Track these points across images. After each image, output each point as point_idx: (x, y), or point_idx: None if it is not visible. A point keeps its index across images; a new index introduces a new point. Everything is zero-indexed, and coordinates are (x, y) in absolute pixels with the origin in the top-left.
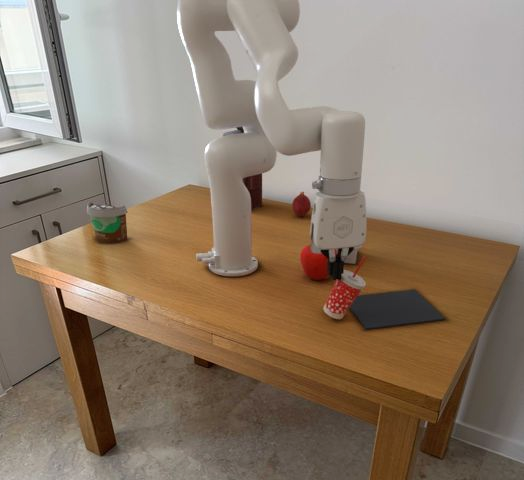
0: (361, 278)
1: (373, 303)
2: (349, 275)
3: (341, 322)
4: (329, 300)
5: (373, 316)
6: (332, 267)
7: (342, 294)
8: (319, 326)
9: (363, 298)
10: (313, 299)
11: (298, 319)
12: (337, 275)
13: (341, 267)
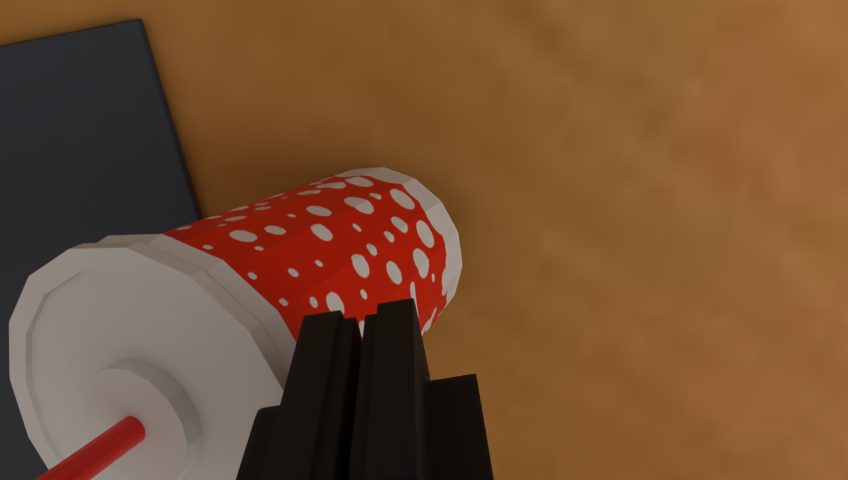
0: (51, 463)
1: None
2: (179, 437)
3: (326, 147)
4: (422, 274)
5: (62, 204)
6: (439, 445)
7: (301, 236)
8: (510, 94)
9: None
10: None
11: (653, 207)
12: (354, 358)
13: (285, 420)
